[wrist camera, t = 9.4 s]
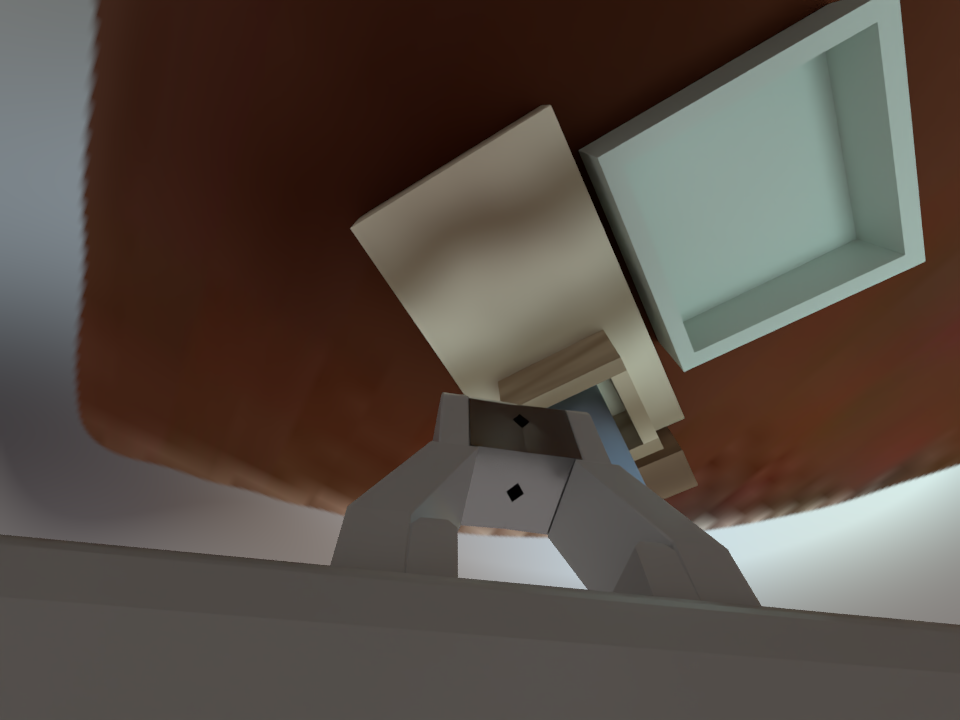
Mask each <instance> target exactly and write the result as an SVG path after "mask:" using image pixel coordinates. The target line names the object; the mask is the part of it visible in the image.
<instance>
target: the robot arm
mask: <svg viewBox="0 0 960 720" xmlns="http://www.w3.org/2000/svg"><path fill="white" fill-rule="evenodd" d="M460 525H465V526H478V527H490V528H503V529H510V530H518V531H525V532H532V533H540V534H547V535H548V538H549V539H550V540H551V541H552V543H553V544H554V546H555V547H556V548H557V549H558V551H559V552H560V553H561V555H562V556H563V557H564V559H565V560H566V561H567V563H568V564H569V565H570V567H571V568H572V569H573V571H574V572H575V573H576V574H577V576H578V577H579V579H580V580H581V581H582V582H583V584H584V585H585V586H586V588H587V589H588V590H584V589H573V588H563V587H552V586H541V585H530V584H520V583H508V582H498V581H487V580H476V579H465V578H458V542H457V541H458V539H457V531H458V529H459V528H460ZM0 720H960V625H956V624H945V623H935V622H924V621H914V620H902V619H892V618H881V617H870V616H859V615H848V614H836V613H826V612H815V611H805V610H795V609H784V608H774V607H763V606H761V605H760V603H759V601H758V599H757V598H756V596H755V595H754V593H753V591H752V589H751V588H750V586H749V585H748V583H747V581H746V580H745V578H744V576H743V575H742V573H741V571H740V569H739V568H738V566H737V565H736V563H735V561H734V560H733V558H732V556H731V554H730V553H729V551H728V550H727V549H726V548H725V547H724V546H723V545H721V544H720V543H719V542H717V541H716V540H715V539H713V538H712V537H711V536H710V535H708V534H707V533H706V532H705V531H703V530H702V529H701V528H699V527H698V526H697V525H696V524H694V523H693V522H692V521H690V520H689V519H688V518H687V517H685V516H684V515H683V514H681V513H680V512H679V511H678V510H676V509H675V508H674V507H672V506H671V505H670V504H669V503H667V502H666V501H665V500H663V499H662V498H661V497H659V496H658V495H657V494H656V493H654V492H653V491H652V490H650V489H649V488H648V487H647V486H645V485H644V484H643V483H641V482H640V481H639V480H638V479H636V478H635V477H634V476H632V475H631V474H630V473H629V472H627V471H626V470H625V469H623V468H622V467H621V466H620V465H615V464H611V462H610V459H609V457H608V455H607V452H606V450H605V448H604V445H603V443H602V441H601V439H600V436H599V434H598V432H597V429H596V427H595V425H594V422H593V420H592V418H591V416H590V414H588V413H587V412H579V411H570V410H559V409H551V408H542V407H533V406H525V405H517V404H514V403H508V402H502V401H496V400H490V399H483V398H477V397H471V396H468V397H467V395H459V394H451V393H443V392H442V395H441V399H440V404H439V409H438V415H437V420H436V426H435V431H434V437H433V441H431V442H429V443H428V444H427V445H426V446H424V447H423V448H422V449H420V450H419V451H418V452H417V453H415V454H414V455H413V456H412V457H410V458H409V459H408V460H406V461H405V462H404V463H403V464H401V465H400V466H399V467H397V468H396V469H395V470H394V471H392V472H391V473H390V474H388V475H387V476H386V477H385V478H383V479H382V480H381V481H380V482H378V483H377V484H376V485H374V486H373V487H372V488H371V489H369V490H368V491H367V492H365V493H364V494H363V495H362V496H360V497H359V498H358V499H357V500H355V501H354V502H353V503H351V504H350V505H349V506H348V507H347V510H346V513H345V517H344V520H343V524H342V527H341V530H340V534H339V537H338V541H337V544H336V548H335V551H334V555H333V558H332V561H331V565H330V566H327V565H318V564H306V563H296V562H286V561H274V560H264V559H254V558H244V557H233V556H222V555H211V554H201V553H191V552H180V551H170V550H158V549H148V548H138V547H127V546H117V545H106V544H96V543H85V542H74V541H64V540H53V539H42V538H32V537H22V536H11V535H1V534H0Z"/></svg>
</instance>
